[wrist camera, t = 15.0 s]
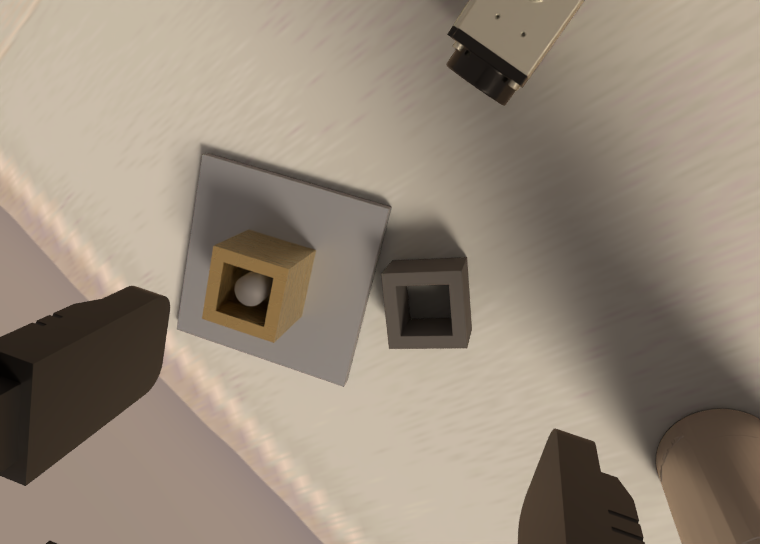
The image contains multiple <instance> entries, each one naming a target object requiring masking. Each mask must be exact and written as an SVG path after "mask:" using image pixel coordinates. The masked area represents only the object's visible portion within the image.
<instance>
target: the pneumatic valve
mask: <svg viewBox="0 0 760 544" xmlns="http://www.w3.org/2000/svg"><path fill="white" fill-rule="evenodd" d="M584 1H585V0H469V1H468V3H467V4H466V6H465V8H464V9H463V11H462V12H461V14H460V15H459V17H458V18H457V20H456V22H455V23H454V26H452V28H451V29H450V31H449V33H448V34H447V35H449V36H450V37H451V38H452V39H454V40H455V43H454V44H453V47H455V48H456V50H455V52H454V53H453V55H452V56H451V58H450V59H449V61H448V62H447V64H446V65H447V67H449V68H450V69H451V70H452V71H454V72H455V73H456V74H458V75H459V76H460V77H462V78H463V79H465V80H466V81H467V82H469V83H470V84H472V85H473V86H475V87H476V88H477V89H479V90H480V91H482V92H483V93H485V94H486V95H488V96H489V97H491V98H492V99H494V100H495V101H497V102H498V103H500V104H501V105H503V106H505V105H506V104H507V102H508V101H509V100H510V98H511V97H512V95H513V94H514V93H515V91H517V90H518V89H519V88H520V87H522V88H523V86H524V85H525V84H526V82H527V81H528V79H529V78H530V77H531V75H532V74H533V72H534V71H535V70H536V68H537V67H538V65H539V64H540V63H541V61H542V60H543V58H544V57H545V55H546V54H547V53H548V51H549V50H550V48H551V47H552V46H553V44H554V43H555V41H556V40H557V39H558V37H559V36H560V34H561V33H562V32H563V30H564V29H565V27H566V26H567V25H568V23H569V22H570V20H571V19H572V18H573V16H574V15H575V13H576V12H577V11H578V9H579V8H580V6H581V5H582V3H583V2H584Z"/></svg>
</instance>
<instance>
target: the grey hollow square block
mask: <svg viewBox="0 0 760 544" xmlns="http://www.w3.org/2000/svg"><path fill="white" fill-rule="evenodd" d="M381 277H382V286H383V296H384V305H385V315H386V325H387V334H388V344H389V349H427V348H467V347H468V343H469V339H470V335H471V331H472V324H471V309H470V294H469V280H468V265H467V257H463V258H440V259H417V260H394V261H392V262H391V263H390V264H389V265H388V266H387V268H386V269H385V270H384V271H383V272H382V273H381ZM448 284H449V292H450V305H451V318H426V319H410V312H409V302H408V291H407V286H417V285H448Z"/></svg>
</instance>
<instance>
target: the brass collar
mask: <svg viewBox="0 0 760 544" xmlns="http://www.w3.org/2000/svg"><path fill="white" fill-rule="evenodd" d="M315 253H316V250H314V249H311V248H308V247H304V246H301V245H298V244H295V243H291V242H288V241H285V240H282V239H278V238H275V237H272V236H269V235H265V234H262V233H259V232H256V231H252V230H249V229H248V230H246V231H244V232H242V233H240V234H237V235H235V236H233V237H231V238H229V239H227V240H224V241H222V242H220V243H218V244H216V245H214V246H213V251H212V257H211V264H210V270H209V277H208V283H207V289H206V296H205V302H204V308H203V315H202V319H204V320H207V321H210V322H213V323H216V324H219V325H222V326H225V327H228V328H231V329H234V330H237V331H240V332H243V333H246V334H249V335H252V336H255V337H258V338H261V339H264V340H267V341H269V342H272V343H274V342H276V341H277V340H278V339H279V338H280V337H281V336H282V335H283V334H284V333H285V332H286V331H287V330H288V329H289V328H290V327H291V326H292V325H293V324H294V323H295V322H297V321H298V320H299V319H300V318H301V317H302V314H303V309H304V304H305V300H306V295H307V290H308V286H309V281H310V276H311V272H312V267H313V262H314V258H315ZM251 271H253V272H256V273H259V274H262V275H266V276H269V277H272V278H273V283H272V289H271V294H270V296H269V297H267V298H266V299H265V300H263V301H262V302H261V303H259V304H258V305H256V306H247V305H244V304H243V303H241V302H240V301H239V300H238V298H237V297H236V294H235V284H236V282H237V281H238V279H240V278H241V277H243V276H244V275H246V274H248V273H249V272H251Z"/></svg>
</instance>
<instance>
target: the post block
mask: <svg viewBox="0 0 760 544" xmlns="http://www.w3.org/2000/svg"><path fill="white" fill-rule="evenodd" d="M390 211H391V207H390V206H386V205H383V204H380V203H376V202H373V201H369V200H366V199H362V198H359V197H356V196H352V195H349V194H345V193H342V192H339V191H335V190H332V189H328V188H325V187H322V186H318V185H315V184H311V183H308V182H305V181H301V180H298V179H294V178H291V177H288V176H284V175H281V174H277V173H274V172H271V171H267V170H264V169H260V168H257V167H254V166H250V165H247V164H243V163H240V162H237V161H233V160H230V159H226V158H223V157H220V156H216V155H213V154H209V153H207V154H202V160H201V167H200V174H199V181H198V188H197V195H196V201H195V208H194V215H193V222H192V229H191V235H190V242H189V249H188V256H187V263H186V270H185V276H184V283H183V290H182V297H181V304H180V310H179V317H178V324H177V330H180V331H183V332H186V333H189V334H192V335H195V336H198V337H201V338H204V339H206V340H209V341H212V342H215V343H218V344H221V345H224V346H227V347H230V348H233V349H236V350H238V351H241V352H244V353H247V354H250V355H253V356H256V357H259V358H262V359H265V360H267V361H270V362H273V363H276V364H279V365H282V366H285V367H288V368H291V369H294V370H297V371H299V372H302V373H305V374H308V375H311V376H314V377H317V378H320V379H323V380H326V381H328V382H331V383H334V384H337V385H340V386H343V387H344V386H345V384H346V383H347V380H348V376H349V372H350V368H351V364H352V361H353V357H354V353H355V349H356V345H357V341H358V337H359V333H360V329H361V325H362V321H363V317H364V313H365V309H366V305H367V302H368V298H369V294H370V290H371V286H372V282H373V278H374V274H375V270H376V266H377V262H378V258H379V254H380V250H381V246H382V243H383V239H384V235H385V231H386V227H387V223H388V219H389V215H390ZM248 229H249V230H252V231H256V232H259V233H262V234H265V235H269V236H272V237H275V238H278V239H282V240H285V241H288V242H291V243H295V244H298V245H301V246H304V247H308V248H311V249H314V250H316V253H315V258H314V262H313V267H312V272H311V276H310V281H309V286H308V290H307V295H306V300H305V304H304V309H303V314H302V317H301V318H300V319H299V320H298V321H297V322H295V323H294V324H293V325H292V326H291V327H290V328H289V329H288V330H287V331H286V332H285V333H284V334H283V335H282V336H281V337H280V338H279V339H278V340H277V341H276V342H274V343H272V342H269V341H267V340H264V339H261V338H258V337H255V336H252V335H249V334H246V333H243V332H240V331H237V330H234V329H231V328H228V327H225V326H222V325H219V324H216V323H213V322H210V321H207V320H204V319H202V315H203V308H204V302H205V296H206V289H207V283H208V277H209V270H210V264H211V257H212V251H213V246H214V245H216V244H218V243H220V242H222V241H224V240H227V239H229V238H231V237H233V236H235V235H237V234H240V233H242V232H244V231H246V230H248ZM272 283H273V278H272V277H269V276H266V275H262V274H259V273H256V272H253V271H251V272H249V273H248V274H246V275H244V276H243V277H241V278H240V279H238V281H237V282H236V284H235V294H236V297H237V298H238V300H239V301H240V302H241V303H243V304H244V305H247V306H256V305H258V304H259V303H261V302H262V301H263V300H265V299H266V298H267V297H269V296H270V294H271V289H272Z"/></svg>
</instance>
